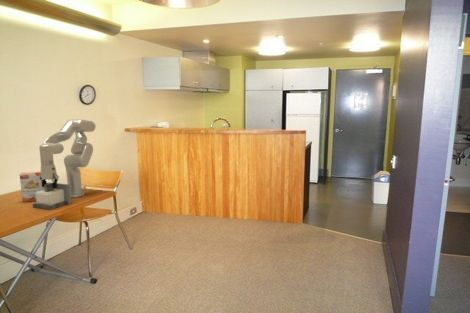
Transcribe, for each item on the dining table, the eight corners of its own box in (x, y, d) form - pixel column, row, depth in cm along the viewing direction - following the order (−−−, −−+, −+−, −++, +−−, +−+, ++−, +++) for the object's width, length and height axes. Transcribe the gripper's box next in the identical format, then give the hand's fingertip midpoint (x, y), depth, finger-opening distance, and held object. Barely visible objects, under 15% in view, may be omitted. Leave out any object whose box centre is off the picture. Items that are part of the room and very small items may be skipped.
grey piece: (50, 201, 233) (48, 182, 231) (71, 203, 226) (69, 184, 224) (30, 207, 219) (28, 187, 217) (52, 210, 212) (50, 189, 210)
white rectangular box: (50, 199, 230) (49, 181, 228) (64, 200, 225) (63, 182, 223) (35, 203, 219) (33, 185, 217) (50, 205, 214) (48, 186, 212)
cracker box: (22, 202, 231) (19, 173, 227) (24, 200, 236) (21, 172, 233) (44, 200, 235) (41, 172, 232) (46, 198, 241) (43, 170, 237)
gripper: (61, 162, 219) (63, 187, 221) (42, 161, 225) (45, 185, 227) (52, 164, 212) (54, 189, 214) (32, 163, 218) (35, 187, 220)
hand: (49, 187), depth 221 cm, fingers open, 9 cm apart
